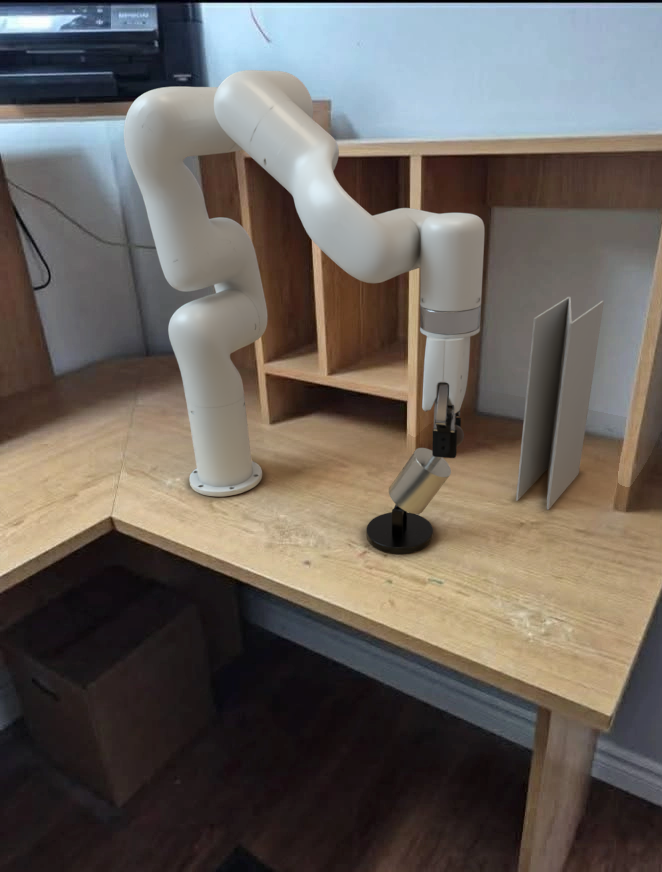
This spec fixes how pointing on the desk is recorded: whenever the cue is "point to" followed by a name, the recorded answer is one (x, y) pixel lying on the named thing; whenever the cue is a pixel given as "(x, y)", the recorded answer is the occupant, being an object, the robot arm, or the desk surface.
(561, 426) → the brochure
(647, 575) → the desk surface
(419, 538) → the holder base
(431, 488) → the knobbed metal cylinder
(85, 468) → the desk surface
